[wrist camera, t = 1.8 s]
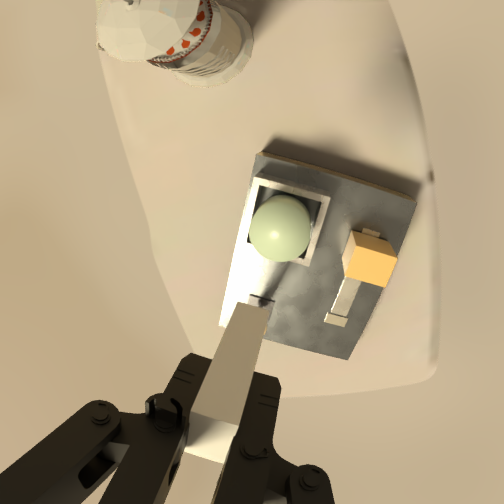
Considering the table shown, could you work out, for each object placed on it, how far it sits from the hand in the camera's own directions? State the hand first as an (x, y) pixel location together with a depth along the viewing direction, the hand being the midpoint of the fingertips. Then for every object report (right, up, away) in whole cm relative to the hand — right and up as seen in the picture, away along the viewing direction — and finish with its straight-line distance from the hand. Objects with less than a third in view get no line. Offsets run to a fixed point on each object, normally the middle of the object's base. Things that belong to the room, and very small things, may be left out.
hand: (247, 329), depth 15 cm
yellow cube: (+11, +4, +16) cm, 20 cm away
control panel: (+7, +3, +21) cm, 22 cm away
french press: (-5, +25, +14) cm, 29 cm away
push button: (+3, +6, +14) cm, 16 cm away
